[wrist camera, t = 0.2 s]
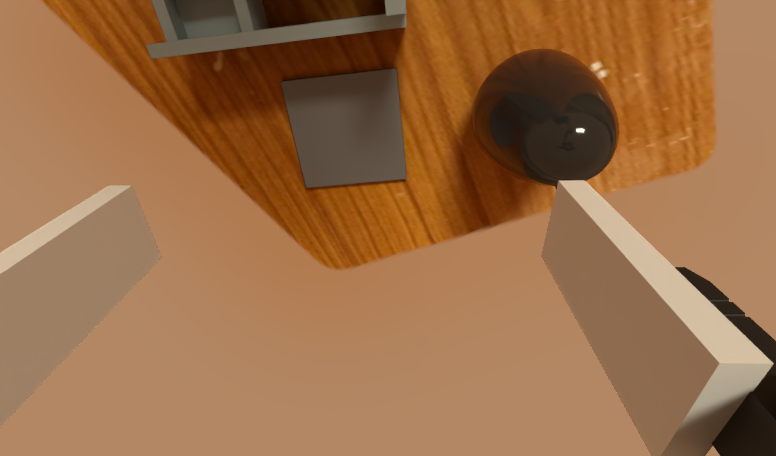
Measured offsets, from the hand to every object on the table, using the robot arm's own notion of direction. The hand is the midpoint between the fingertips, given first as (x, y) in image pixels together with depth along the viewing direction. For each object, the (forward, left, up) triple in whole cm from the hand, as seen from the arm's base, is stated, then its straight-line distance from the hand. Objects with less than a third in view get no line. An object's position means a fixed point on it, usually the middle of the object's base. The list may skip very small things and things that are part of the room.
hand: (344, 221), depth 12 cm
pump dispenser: (+4, +13, -28) cm, 31 cm away
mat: (+5, -4, -27) cm, 28 cm away
